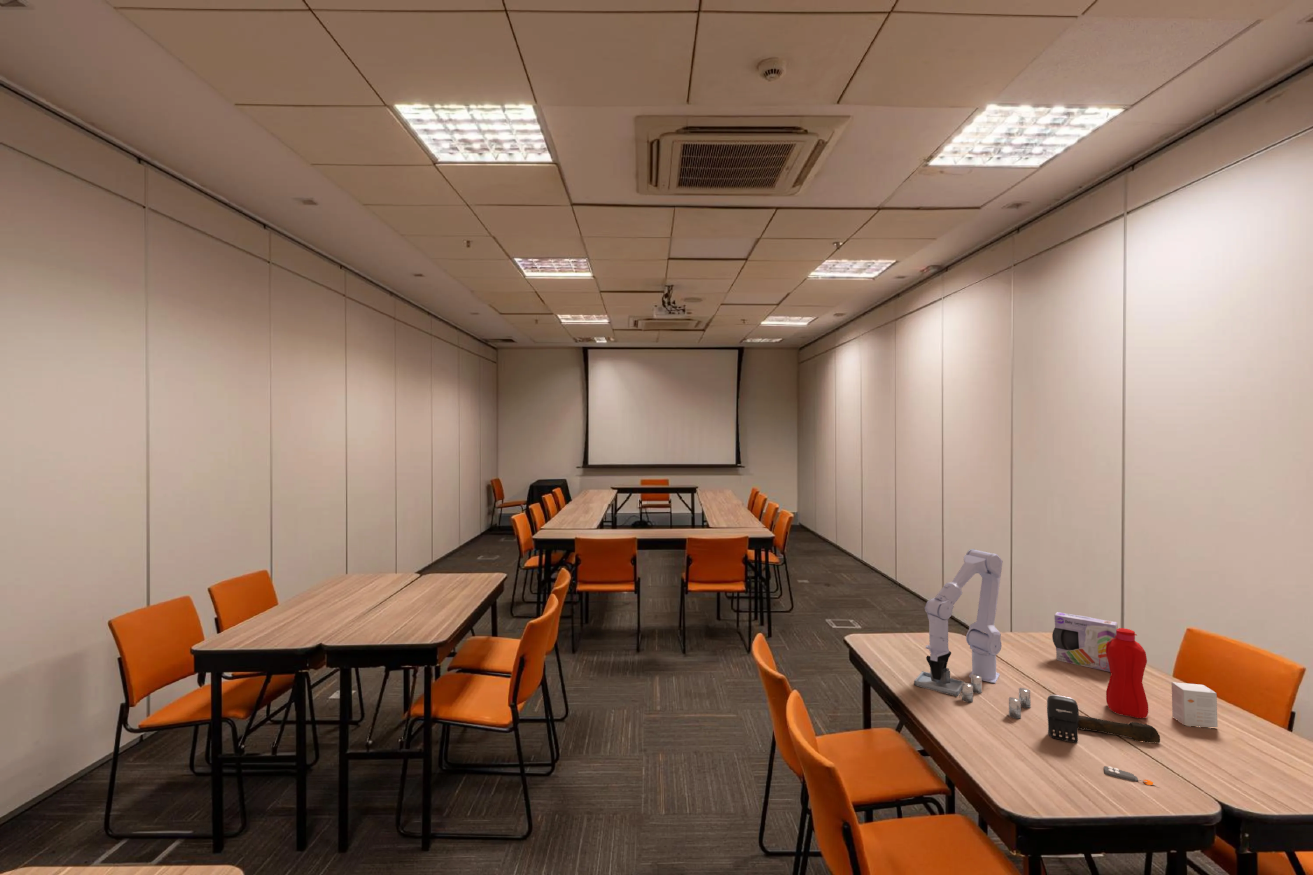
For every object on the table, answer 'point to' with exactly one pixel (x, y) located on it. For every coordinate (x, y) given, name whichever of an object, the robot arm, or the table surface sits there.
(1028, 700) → the cylinder
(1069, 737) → the battery charger
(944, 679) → the nut
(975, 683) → the cylinder
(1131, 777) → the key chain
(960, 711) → the table surface
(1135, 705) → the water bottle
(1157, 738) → the dark brown bar
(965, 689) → the cylinder
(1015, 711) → the cylinder
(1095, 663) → the cake pan box
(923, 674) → the tray
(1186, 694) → the small box
